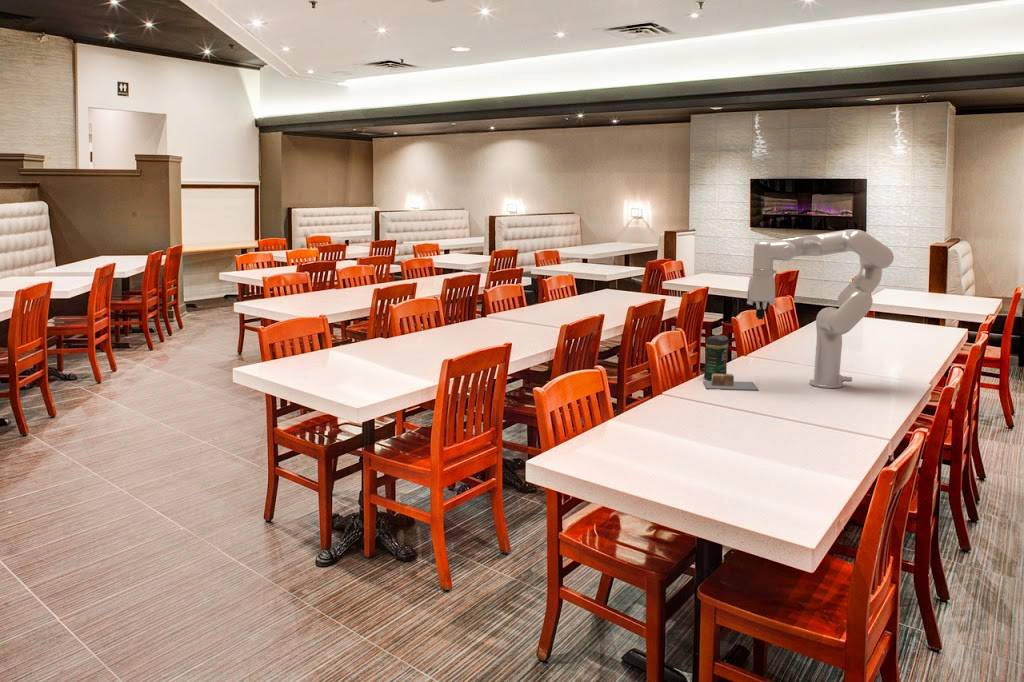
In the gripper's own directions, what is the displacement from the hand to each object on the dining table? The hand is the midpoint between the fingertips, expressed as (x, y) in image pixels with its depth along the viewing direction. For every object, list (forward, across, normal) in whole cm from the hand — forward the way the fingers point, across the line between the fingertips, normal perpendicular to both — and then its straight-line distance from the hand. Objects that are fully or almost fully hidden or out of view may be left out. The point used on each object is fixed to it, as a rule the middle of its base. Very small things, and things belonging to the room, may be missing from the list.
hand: (760, 318), depth 302 cm
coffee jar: (+27, +15, -9) cm, 32 cm away
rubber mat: (+27, +11, +4) cm, 30 cm away
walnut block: (+24, +10, +4) cm, 27 cm away
